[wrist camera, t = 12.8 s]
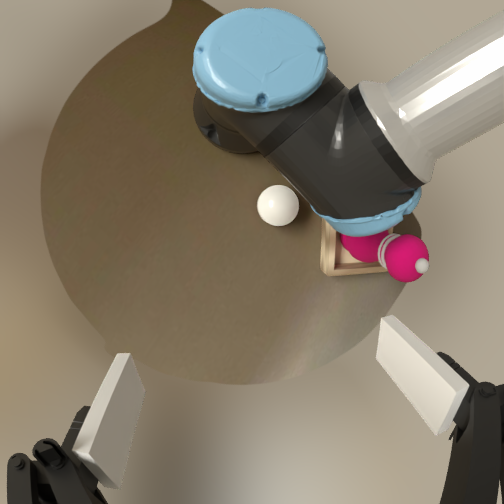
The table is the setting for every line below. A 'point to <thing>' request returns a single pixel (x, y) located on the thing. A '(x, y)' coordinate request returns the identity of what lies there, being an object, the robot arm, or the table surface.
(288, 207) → the white egg-shaped pebble
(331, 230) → the tray
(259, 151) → the robot arm
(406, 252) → the pepper mill
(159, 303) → the table surface
